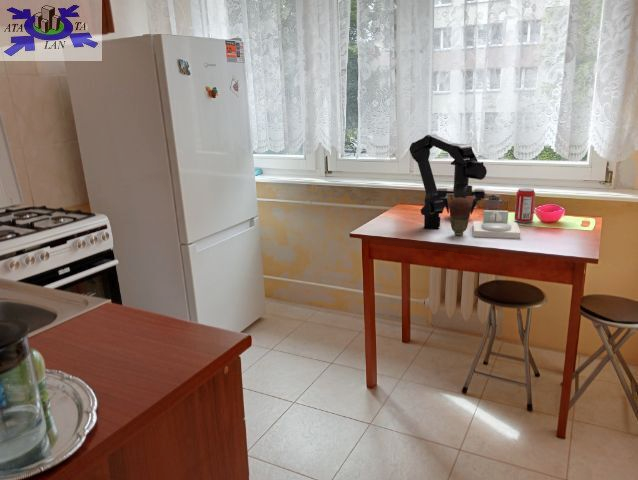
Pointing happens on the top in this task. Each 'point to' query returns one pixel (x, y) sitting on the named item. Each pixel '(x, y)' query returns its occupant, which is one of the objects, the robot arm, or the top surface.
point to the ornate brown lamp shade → (459, 224)
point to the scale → (496, 225)
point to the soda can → (524, 205)
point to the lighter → (493, 203)
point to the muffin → (460, 207)
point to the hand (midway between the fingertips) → (459, 213)
